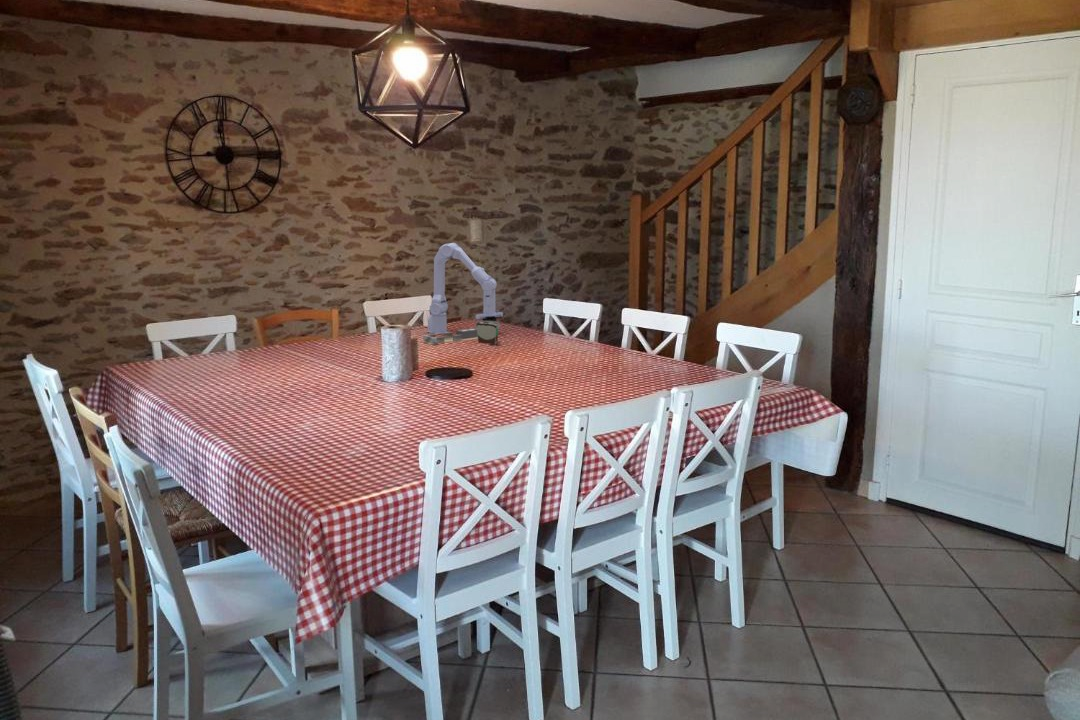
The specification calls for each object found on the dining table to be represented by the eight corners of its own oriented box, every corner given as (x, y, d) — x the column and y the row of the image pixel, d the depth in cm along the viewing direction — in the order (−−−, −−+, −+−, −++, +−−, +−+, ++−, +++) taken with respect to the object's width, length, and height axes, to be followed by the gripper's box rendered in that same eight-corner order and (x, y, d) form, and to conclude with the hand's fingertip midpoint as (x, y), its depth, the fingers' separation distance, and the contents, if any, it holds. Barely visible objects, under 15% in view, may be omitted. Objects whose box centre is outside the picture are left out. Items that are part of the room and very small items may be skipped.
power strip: (456, 337, 391) (456, 330, 390) (481, 334, 399) (481, 327, 398) (461, 339, 387) (461, 331, 386) (486, 336, 396) (486, 328, 395)
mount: (421, 342, 382) (420, 335, 381) (480, 334, 402) (480, 328, 402) (432, 345, 374) (432, 338, 374) (492, 337, 395) (492, 331, 394)
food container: (505, 343, 380) (505, 322, 378) (497, 346, 375) (497, 324, 373) (483, 341, 386) (483, 319, 384) (475, 343, 381) (475, 321, 379)
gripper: (481, 306, 389) (481, 335, 392) (506, 304, 398) (506, 332, 401) (473, 304, 394) (473, 333, 397) (498, 302, 403) (498, 330, 406)
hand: (489, 332), depth 399 cm, fingers closed
